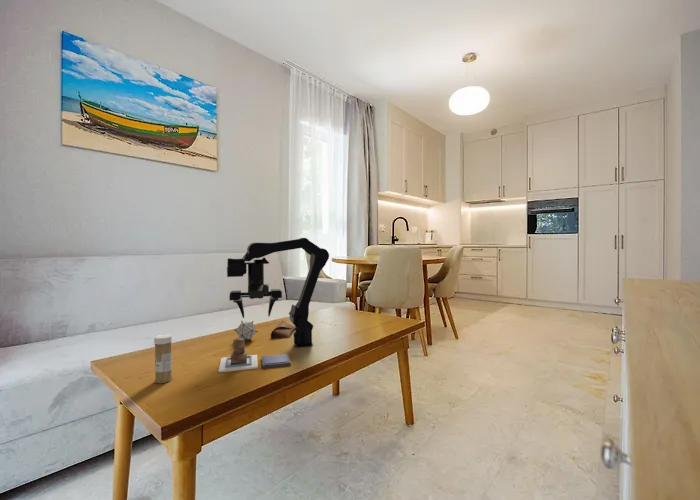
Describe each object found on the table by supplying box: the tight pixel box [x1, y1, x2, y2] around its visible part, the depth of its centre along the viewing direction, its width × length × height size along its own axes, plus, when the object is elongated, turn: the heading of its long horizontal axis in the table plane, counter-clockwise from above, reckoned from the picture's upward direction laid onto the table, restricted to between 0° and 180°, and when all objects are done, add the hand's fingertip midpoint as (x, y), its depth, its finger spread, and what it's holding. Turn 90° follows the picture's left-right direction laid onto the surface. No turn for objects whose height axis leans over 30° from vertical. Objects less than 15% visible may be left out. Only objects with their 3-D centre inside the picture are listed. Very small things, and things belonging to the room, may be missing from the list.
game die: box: [233, 320, 259, 342], centre depth 141 cm, size 9×8×10 cm
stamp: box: [230, 337, 248, 365], centre depth 115 cm, size 5×5×8 cm
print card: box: [217, 354, 259, 373], centre depth 115 cm, size 12×12×1 cm
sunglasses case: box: [270, 320, 297, 339], centre depth 153 cm, size 18×7×7 cm
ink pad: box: [261, 353, 292, 369], centre depth 116 cm, size 9×9×1 cm
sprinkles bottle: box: [153, 333, 173, 384], centre depth 101 cm, size 5×5×13 cm
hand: (256, 317), depth 129 cm, fingers open, 9 cm apart
